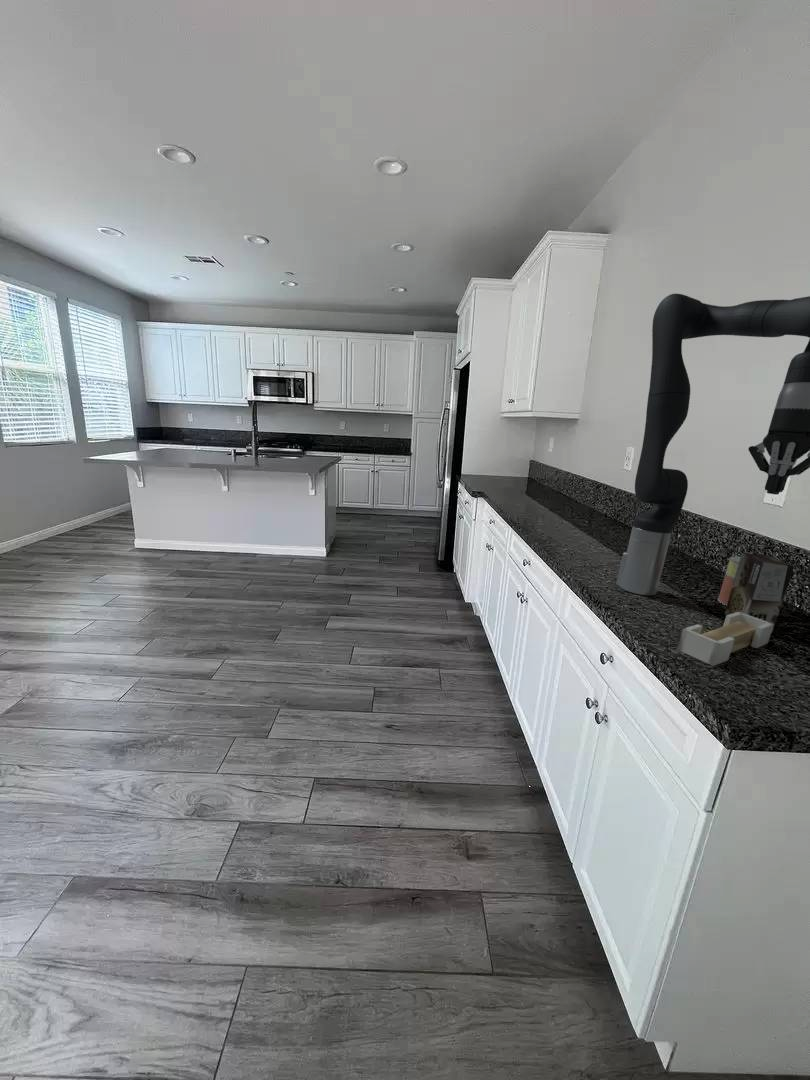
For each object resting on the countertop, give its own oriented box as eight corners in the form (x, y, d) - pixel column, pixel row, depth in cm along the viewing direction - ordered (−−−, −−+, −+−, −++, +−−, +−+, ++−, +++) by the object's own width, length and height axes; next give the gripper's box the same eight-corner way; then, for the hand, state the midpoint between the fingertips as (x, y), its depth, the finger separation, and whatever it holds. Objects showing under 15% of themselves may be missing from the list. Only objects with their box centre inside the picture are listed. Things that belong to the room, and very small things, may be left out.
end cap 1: (677, 649, 86) (682, 628, 85) (692, 644, 89) (697, 624, 88) (713, 666, 81) (720, 644, 80) (728, 660, 84) (734, 638, 83)
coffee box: (774, 633, 99) (796, 566, 95) (742, 628, 100) (763, 561, 96) (751, 617, 108) (771, 555, 104) (722, 613, 109) (741, 551, 105)
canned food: (748, 615, 109) (762, 570, 106) (707, 598, 119) (719, 556, 116) (781, 614, 112) (795, 570, 109) (738, 597, 122) (750, 556, 119)
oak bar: (691, 654, 86) (697, 635, 85) (733, 638, 95) (738, 621, 94) (710, 662, 83) (716, 643, 82) (751, 645, 92) (757, 627, 91)
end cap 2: (767, 643, 93) (774, 624, 92) (755, 648, 90) (762, 628, 89) (732, 630, 99) (738, 611, 97) (720, 634, 96) (726, 615, 94)
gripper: (752, 406, 91) (729, 488, 95) (836, 406, 80) (805, 499, 85) (767, 409, 95) (744, 488, 99) (849, 410, 84) (819, 499, 88)
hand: (772, 493), depth 92 cm, fingers closed
